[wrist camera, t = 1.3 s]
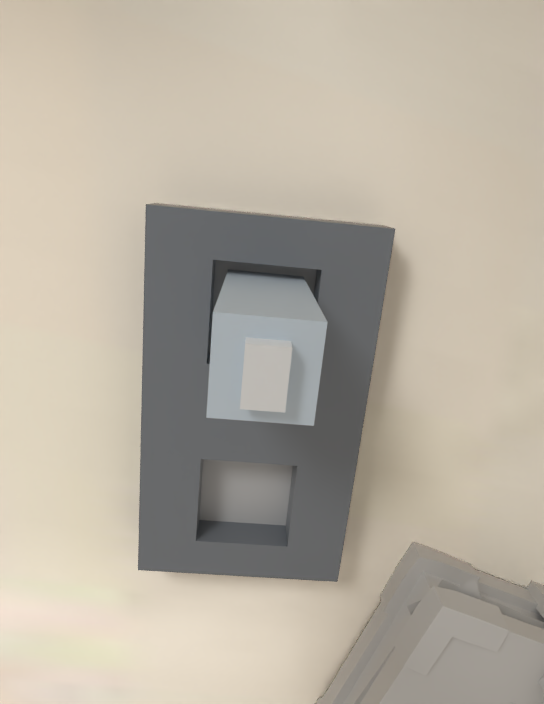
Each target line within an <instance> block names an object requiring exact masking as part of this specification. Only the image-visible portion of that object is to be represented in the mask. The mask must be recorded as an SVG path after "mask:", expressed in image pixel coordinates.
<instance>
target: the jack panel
mask: <svg viewBox="0 0 544 704" xmlns="http://www.w3.org/2000/svg"><path fill="white" fill-rule="evenodd" d="M394 233H395V229H394V228H390V227H387V226H383V225H373V224H363V223H353V222H343V221H333V220H322V219H312V218H302V217H292V216H282V215H272V214H261V213H251V212H241V211H231V210H221V209H210V208H200V207H190V206H180V205H170V204H159V203H153V204H146V225H145V272H144V319H143V366H142V413H141V460H140V507H139V554H138V570H147V571H164V572H181V573H198V574H215V575H232V576H250V577H267V578H284V579H301V580H318V581H335V582H337V581H338V575H339V569H340V563H341V556H342V550H343V544H344V538H345V532H346V526H347V520H348V514H349V508H350V502H351V495H352V489H353V483H354V477H355V471H356V465H357V459H358V453H359V447H360V441H361V434H362V428H363V422H364V416H365V410H366V404H367V398H368V392H369V386H370V380H371V374H372V367H373V361H374V355H375V349H376V343H377V337H378V331H379V325H380V319H381V313H382V306H383V300H384V294H385V288H386V282H387V276H388V270H389V264H390V258H391V252H392V245H393V239H394ZM228 269H230V270H241V271H252V272H263V273H274V274H285V275H296V276H303V277H304V279H305V281H306V283H307V285H308V286H309V288H310V290H311V292H312V294H313V296H314V298H315V299H316V301H317V303H318V305H319V307H320V309H321V311H322V313H323V314H324V316H325V318H326V320H327V322H328V323H327V330H326V338H325V345H324V353H323V360H322V368H321V375H320V383H319V391H318V398H317V406H316V413H315V421H314V426H310V425H297V424H283V423H270V422H257V421H244V420H230V419H217V418H206V414H207V398H208V382H209V366H210V350H211V334H212V319H213V310H214V308H215V305H216V302H217V299H218V297H219V294H220V291H221V288H222V286H223V283H224V280H225V277H226V274H227V272H228Z"/></svg>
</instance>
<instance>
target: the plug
mask: <svg viewBox="0 0 544 704" xmlns="http://www.w3.org/2000/svg"><path fill="white" fill-rule="evenodd" d="M327 323H328V322H327V320H326V318H325V316H324V314H323V313H322V311H321V309H320V307H319V305H318V303H317V301H316V299H315V298H314V296H313V294H312V292H311V290H310V288H309V286H308V285H307V283H306V281H305V279H304V277H303V276H296V275H285V274H274V273H263V272H252V271H241V270H230V269H228V272H227V274H226V277H225V280H224V283H223V286H222V288H221V291H220V294H219V297H218V299H217V302H216V305H215V308H214V310H213V319H212V334H211V350H210V366H209V382H208V398H207V414H206V418H217V419H230V420H244V421H257V422H270V423H283V424H297V425H310V426H314V421H315V413H316V406H317V398H318V391H319V383H320V375H321V368H322V360H323V353H324V345H325V338H326V330H327Z"/></svg>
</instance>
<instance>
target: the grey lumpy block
mask: <svg viewBox="0 0 544 704" xmlns="http://www.w3.org/2000/svg"><path fill="white" fill-rule="evenodd" d="M315 704H544V585H542V584H539V583H536V582H534V581H531V582H530V584H529V585H528V587H527V588H523V587H521V586H518V585H515V584H513V583H510V582H507V581H505V580H502V579H499V578H497V577H494V576H491V575H489V574H486V573H484V572H481V571H478V570H476V569H474V568H473V567H472V566H471V564H469V563H467V562H464V561H462V560H460V559H457V558H455V557H452V556H450V555H448V554H445V553H443V552H440V551H438V550H435V549H433V548H430V547H427V546H424V545H421V544H418V543H415V542H412V544H411V545H410V547H409V548H408V550H407V551H406V553H405V554H404V556H403V557H402V559H401V560H400V562H399V563H398V565H397V567H396V569H395V570H394V572H393V574H392V575H391V577H390V579H389V581H388V582H387V584H386V586H385V587H384V589H383V591H382V592H381V603H380V604H379V606H378V607H377V609H376V611H375V612H374V614H373V616H372V617H371V619H370V621H369V622H368V624H367V626H366V627H365V629H364V630H363V632H362V634H361V635H360V637H359V639H358V640H357V642H356V644H355V645H354V647H353V649H352V650H351V652H350V654H349V655H348V657H347V658H346V660H345V662H344V663H343V665H342V667H341V668H340V670H339V672H338V673H337V675H336V677H335V678H334V680H333V681H332V683H331V685H330V686H329V688H328V690H327V691H326V693H325V694H324V695H323V697H322V698H319V699H318V700H317V701H316V703H315Z"/></svg>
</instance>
